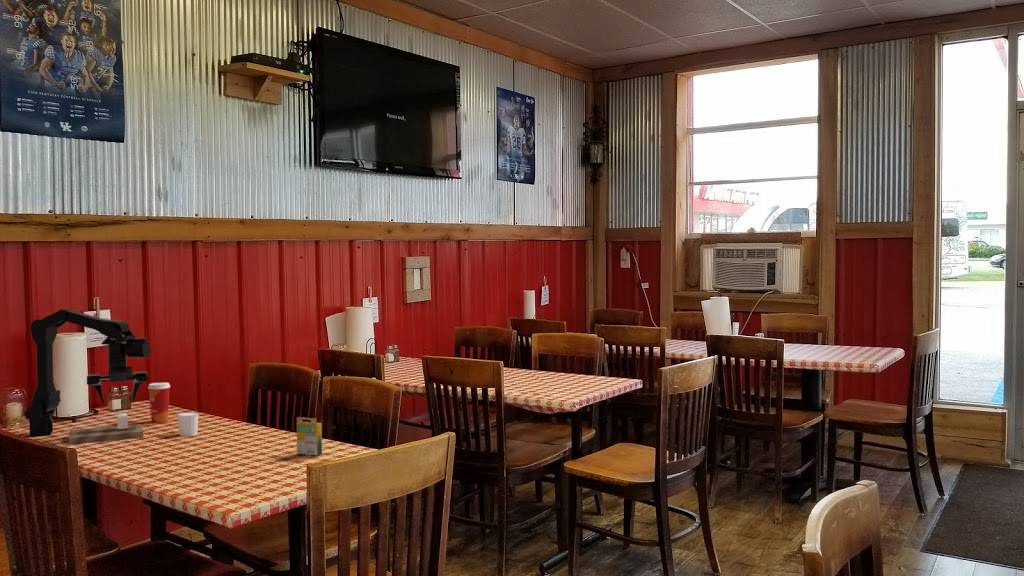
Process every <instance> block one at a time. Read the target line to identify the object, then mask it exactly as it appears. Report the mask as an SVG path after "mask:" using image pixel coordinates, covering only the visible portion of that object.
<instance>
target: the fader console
mask: <svg viewBox="0 0 1024 576" xmlns="http://www.w3.org/2000/svg"><path fill="white" fill-rule="evenodd" d="M140 438H142V439H143V438H144V429H143V427H142V424H141V423H137V424H135V423H134V424H128V428H127V429H121V430H118V429H117V425H116V426H115V425H114V426H103V427H92V428H79V429H70V430H69V433H68V445H79V444H87V443H88V444H89V443H97V442H98V443H99V442H106V441H107V442H108V441H119V440H128V439H129V440H130V439H140Z"/></svg>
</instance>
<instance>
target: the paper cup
mask: <svg viewBox="0 0 1024 576" xmlns="http://www.w3.org/2000/svg"><path fill="white" fill-rule="evenodd" d="M170 388H171V385H170V382H151V383H149V384H148V387H147V389H148V396H149V407H150V408H149V409H150V419H151V423H152V424H163V423H167V422H168V421H169V410H170V409H169V408H170Z"/></svg>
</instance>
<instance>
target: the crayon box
mask: <svg viewBox="0 0 1024 576" xmlns="http://www.w3.org/2000/svg"><path fill="white" fill-rule="evenodd" d="M303 420H305V421H303ZM306 420H307V421H306ZM322 425H323V424H322V422H317V417H316V418H315V417H314V418H313V417H302V416H297V417H296V454H303V455H302V456H311V455H316V456H315V457H318V456H317V455H319V456H321V455H322V454H323V436H322V435H323V431H322V430H323V427H322ZM304 454H305V455H304ZM320 454H321V455H320Z"/></svg>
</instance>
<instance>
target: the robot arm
mask: <svg viewBox="0 0 1024 576" xmlns="http://www.w3.org/2000/svg"><path fill="white" fill-rule="evenodd" d="M30 323H31V322H30ZM66 323H70V324H73V325H77V326H81V327H83V328H84V327H85V328H87V329H91V330H95V331H97V332H98V333H99V334H101V335H103V336H105V339H104V340H103V341H102V342H101V345H104V346H107V363H108V364H107V366H108V367H107V368H108V369H107V370H108V371H107V375H101V374H100V373H91V374H90V373H89V374H87V376H86V385H88V386H89V385H91V386H90V387H92V388H95V390H96V392H97V393H98V397H99V400H100V402H101V404H102V405H104V402H105V401H104V393H103V388H102V382H110V383H117V382H122V383H123V382H126V381H132V380H133V387H132V394H131V396H132V397H131V402H132V403H134V402H135V398H136V395H137V392H138V391H139V388H140V386H141V385H144V384H145V382H149V374H148V372H147V371H146V370H145V371H134V374H133V366H129V365H128V364H127V363H128V362H127V361H128V360H127V359H128V358H130V359H134V358H135V359H142V358H143V359H148V358H149V357H150V355H151V350H152V348H151V345H150V342H149V341H148V337H140V338H138V337H136V336H135V334H134V333H133V332H132V331H131V328H130V326H129V324H128V322H127V321H126V320H123V319H109V318H100V317H98V316H93V315H90V314H87V313H83V312H80V311H76V310H72V309H71V308H61V309H59V310H58V311H56V312H53V313H52V314H50V315H47V316H46V317H43V318H39V319H35V320H33V321H32V323H31V324H29V325H30V326H29V328H30V330H29V331H30V336H31V338H32V340H33V342H34V344H35V347H36V351H35V353H36V388H35V391H34V393H33V394H32V399H31V405H30V406H29V407H28V408H27V409H26V410H25V411H24V413H23V415H24V417H25V419H26V420H28V422H29V424H28V426H29V427H28V428H29V434H28V437H38V436H48V435H52V433H53V432H54V420H53V418H52V415H54V414H55V411H56V409H57V408H58V407H59V405H60V402H62V400H61V390H60V389H56V388H55V386H54V362H53V361H54V356H53V345H54V344H53V343H54V342H55V340H56V337H57V335H58V328H61V327H62V326H63V325H65V324H66ZM127 365H128V366H127Z"/></svg>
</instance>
